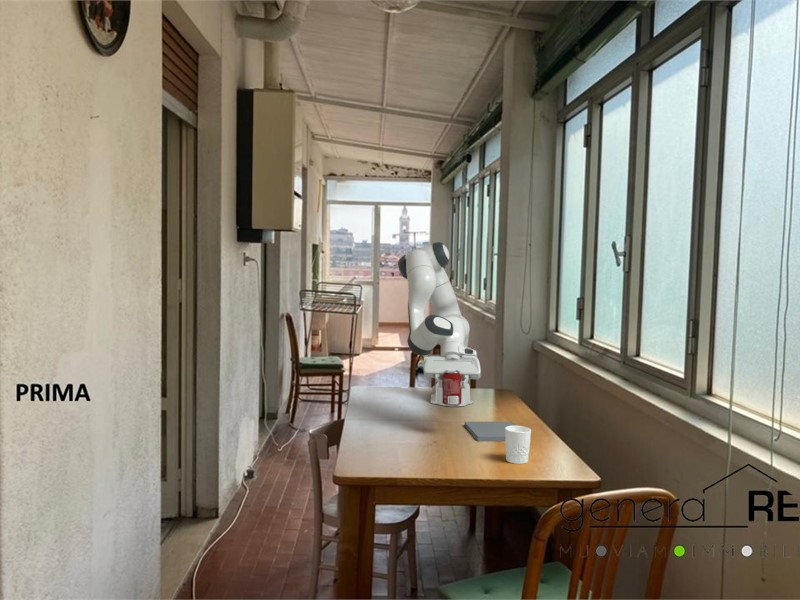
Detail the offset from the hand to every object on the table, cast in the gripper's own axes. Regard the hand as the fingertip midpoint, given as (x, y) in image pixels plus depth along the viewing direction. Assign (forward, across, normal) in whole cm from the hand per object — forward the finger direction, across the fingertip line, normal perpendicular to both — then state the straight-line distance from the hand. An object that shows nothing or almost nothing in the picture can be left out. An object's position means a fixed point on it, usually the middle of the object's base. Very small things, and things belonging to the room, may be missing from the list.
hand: (451, 387), depth 212 cm
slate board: (+7, +16, +18) cm, 25 cm away
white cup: (+29, +21, -4) cm, 36 cm away
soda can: (+4, 0, +5) cm, 7 cm away
